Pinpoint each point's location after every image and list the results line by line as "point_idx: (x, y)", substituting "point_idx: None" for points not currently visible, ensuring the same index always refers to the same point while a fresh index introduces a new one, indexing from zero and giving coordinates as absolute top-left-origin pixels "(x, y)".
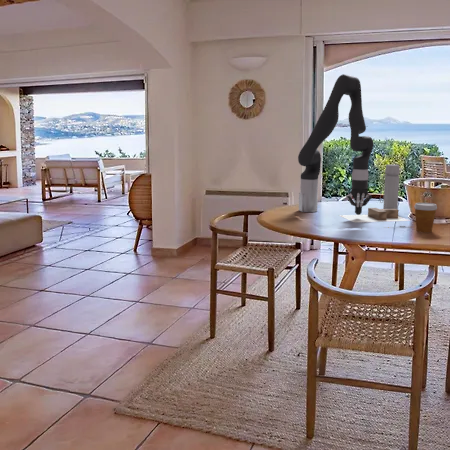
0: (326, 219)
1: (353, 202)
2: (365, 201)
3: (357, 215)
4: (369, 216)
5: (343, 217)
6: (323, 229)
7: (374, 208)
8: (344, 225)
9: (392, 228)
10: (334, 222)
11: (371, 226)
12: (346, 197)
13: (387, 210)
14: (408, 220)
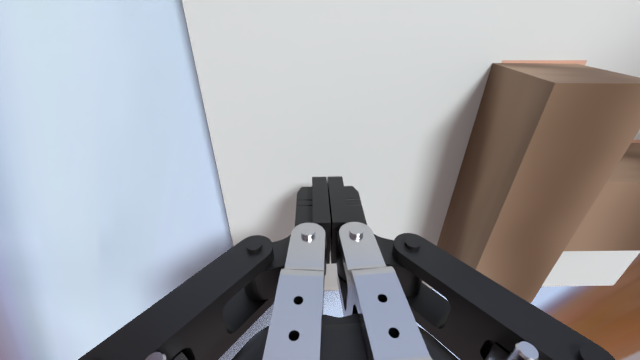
0: (36, 40)
1: (240, 321)
2: (424, 322)
3: (404, 4)
4: (480, 104)
5: (205, 107)
6: (56, 337)
7: (593, 136)
8: (181, 278)
9: None
10: (120, 190)
11: (326, 311)
12: (89, 357)
13: (606, 248)
14: (605, 280)
